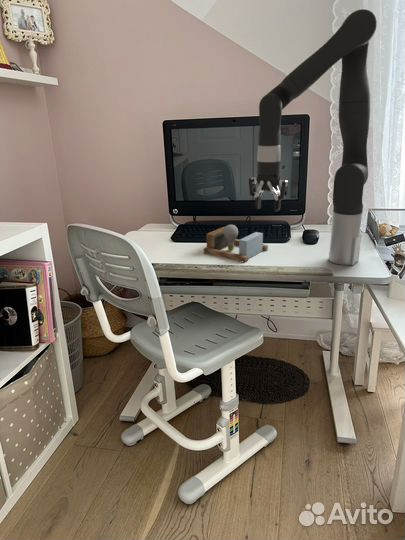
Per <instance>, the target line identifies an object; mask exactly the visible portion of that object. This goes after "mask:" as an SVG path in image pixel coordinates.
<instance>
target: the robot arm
mask: <svg viewBox="0 0 405 540" xmlns="http://www.w3.org/2000/svg"><path fill="white" fill-rule="evenodd" d="M377 25H378V21H377V16H375V14H374V12H372V11H371V10H368V9H357V10H355V11H353V12H351V13H350V14H348V16H346V18H345V19H344V21H343V22H342V24H341V26H340V27H339V28H338V29H337V31H336V32H334V34H333V35H332V36H331V37H330V38H329V39H328V40H327V41H326V42H325V43H324V44H323V45H322V46H321V47H320V48H318V49H317V50H316V51H315V52H313V54H311V55H310V56H308V57H307V58H305V60H304V61H302V62H301V63H300V64H299V65H297V67H295V68H294V69H293V70H292V71H291V72H289V74H288V75H286V76H285V77H284V78H283V80H282V81H280V82H279V84H278V85H276V86H275V87H273V89H271V90H270V91H269V92H268V93H266V94H265V95H264V96H262V98H261V99H260V101H259V105H258V111H259V112H258V117H259V119H258V120H259V129H258V130H259V131H258V146H257V155H256V158H257V159H256V160H257V165H256V166H257V167H256V174H257V177H255V176H253V177H252V176H251V177H250V178H248V187H249V196H252V197H254V207H255V209H257V210H259V209H261V208H262V194H263V193H264V191H265V192H266V191H267V192H270V193H271V194H272V195H273V197H274V199H275V200H274V209H273V210H274V212H279V211H280V210H281V207H282V206H281V205H282V200H284V199H286V198H287V197H288V191H289V190H288V189H289V183H290V182H289V180H288V179H286V180H284V179H281V178H280V174H281V161H282V160H281V156H282V152H281V151H282V150H281V140H282V139H281V138H282V137H281V136H282V133H281V132H282V131H281V124H282V123H281V122H282V113H283V110H284V109H285V108H286V107H287V106H288V105H289V104H290V103H292V101H293V100H296V99H297V98H299V97H300V96H301V95H302V94H304V93H305V92H306V91H307V90H308V89H310V87H312V86H313V85H314V84H315V83H316V82H317V81H319V80H320V78H321V77H322V76H323V75H325V73H326V72H328V71H329V70H330V69H331V68H332V67H333V66H334V65H335V64H336V63H338V62H339V61H340V60H341V75H340V85H339V96H338V125H339V129H340V130H339V131H340V136H341V141H342V157H341V158H342V159H341V166H340V167H338V169H337V170H336V172H335V174H334V178H333V189H332V192H333V193H332V207H333V210H332V218H331V219H332V220H331V229H330V230H331V231H330V241H329V243H330V244H329V253H328V261H330V263H333V264H336V265H341V266H354V265H355V264H356V263H357V262H358V261H359V259H360V252H361V251H360V250H361V244H362V235H363V234H362V233H361V227H362V221H363V220H362V218H363V212H364V211H363V209H364V204H363V197H364V188H365V184H366V183H367V181H368V178H369V166H368V137H369V129H370V127H369V126H370V118H371V103H372V102H371V100H372V97H371V96H372V95H371V94H372V93H371V86H370V84H371V83H370V79H369V78H370V77H369V71H368V55H369V46H370V41H371V40H372V38H373V37H374V35H375V34H376V31H377ZM257 184H258V186H256V185H257ZM279 185H280V187H281V188H279Z"/></svg>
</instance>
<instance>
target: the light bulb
mask: <svg viewBox="0 0 405 540" xmlns="http://www.w3.org/2000/svg"><path fill="white" fill-rule="evenodd" d="M238 229H239V228H238V227H237V226H236V225H235V224H228V225H226V226H225V228H224V236H225V238H226V239H227V241H228V247H227V249H228V250H229V252H232V251H233V250H234V249H235V248H234V246H235V245H234V241H235V239H237V238H238V235H239V230H238Z"/></svg>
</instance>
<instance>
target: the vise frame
mask: <svg viewBox="0 0 405 540" xmlns="http://www.w3.org/2000/svg"><path fill="white" fill-rule="evenodd" d="M225 227H226V226H222V227H219V228H217V229H216V230H213V231H210V232H208V233H206V247H203V254H204V255H205V254H206V255H209V256H214V257H217V258H223V259H227V260H232V261H236V260H237V262H240V261H243V262H242V263H245V262H246V263H248V262H249V259H248V256H245V255H240V254H239V253H236V252H232V251H226V250H223V249H225V248H228V241H227V239H226V238H225V236H224V228H225ZM239 240H240V239H238V238H236V239H235V241H234V246H237V247H239ZM268 248H269V244H265V243H263V249H262V251H261V252H267V251H268V250H269V249H268ZM247 261H248V262H247Z"/></svg>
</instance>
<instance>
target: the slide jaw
mask: <svg viewBox="0 0 405 540" xmlns="http://www.w3.org/2000/svg"><path fill="white" fill-rule="evenodd" d="M263 241H264V232H257V231H254V232H253V233H251V234H249V235H246V236H245V237H242V238H240V239H239V246H238V249H239V250H238V252H239V253H238V254H240V255H245V256H248V260H249V259H250V258H253V257H254V256H256V255H257V254H259V253H261V252H263V251H262V249H263V244H264V242H263Z"/></svg>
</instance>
